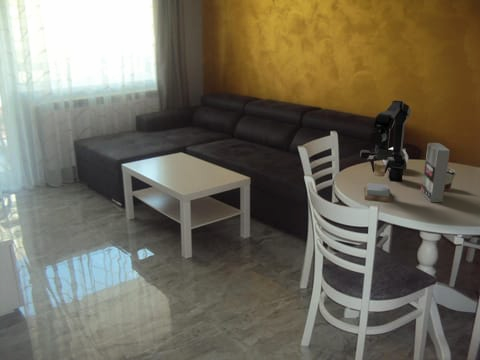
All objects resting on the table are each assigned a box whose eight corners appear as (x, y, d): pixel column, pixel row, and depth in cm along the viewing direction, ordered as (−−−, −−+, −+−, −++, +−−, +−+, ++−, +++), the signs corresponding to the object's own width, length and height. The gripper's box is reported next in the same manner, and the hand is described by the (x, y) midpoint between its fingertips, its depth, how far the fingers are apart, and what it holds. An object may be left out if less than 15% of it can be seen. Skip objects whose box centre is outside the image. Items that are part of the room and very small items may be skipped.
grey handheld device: (419, 192, 234) (426, 142, 226) (432, 192, 234) (439, 142, 226) (429, 202, 221) (436, 150, 213) (442, 202, 221) (450, 150, 213)
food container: (453, 187, 241) (456, 168, 238) (453, 190, 236) (456, 171, 233) (427, 183, 246) (430, 165, 243) (426, 187, 241) (429, 168, 238)
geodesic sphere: (413, 157, 272) (400, 138, 270) (416, 164, 259) (402, 144, 257) (391, 171, 277) (378, 151, 275) (392, 178, 264) (379, 158, 262)
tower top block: (388, 189, 232) (388, 184, 231) (388, 196, 223) (389, 191, 222) (367, 187, 234) (367, 183, 233) (366, 194, 225) (367, 189, 224)
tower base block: (388, 193, 234) (389, 189, 233) (391, 202, 222) (391, 197, 222) (363, 192, 236) (364, 187, 235) (364, 200, 225) (365, 195, 224)
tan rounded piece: (384, 173, 228) (385, 163, 227) (384, 176, 223) (385, 166, 222) (373, 172, 229) (374, 162, 228) (373, 176, 224) (374, 165, 223)
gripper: (362, 143, 215) (359, 176, 220) (405, 146, 212) (401, 179, 217) (361, 138, 226) (358, 169, 231) (402, 140, 222) (399, 172, 227)
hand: (379, 172), depth 226 cm, fingers closed on tan rounded piece, 5 cm apart
